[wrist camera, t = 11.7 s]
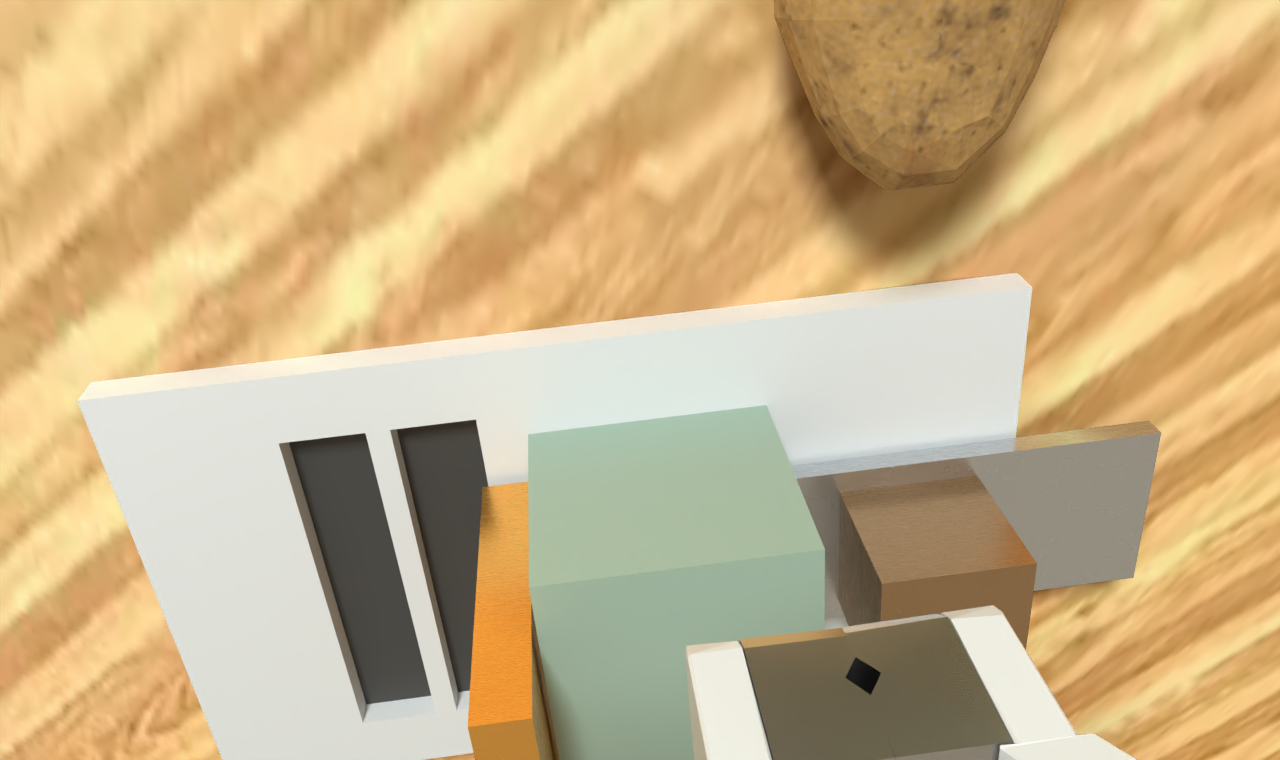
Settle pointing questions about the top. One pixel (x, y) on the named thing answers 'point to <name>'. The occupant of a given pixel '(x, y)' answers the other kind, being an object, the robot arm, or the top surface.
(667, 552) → the tunnel
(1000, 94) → the potato
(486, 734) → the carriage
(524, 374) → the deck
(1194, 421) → the top surface
